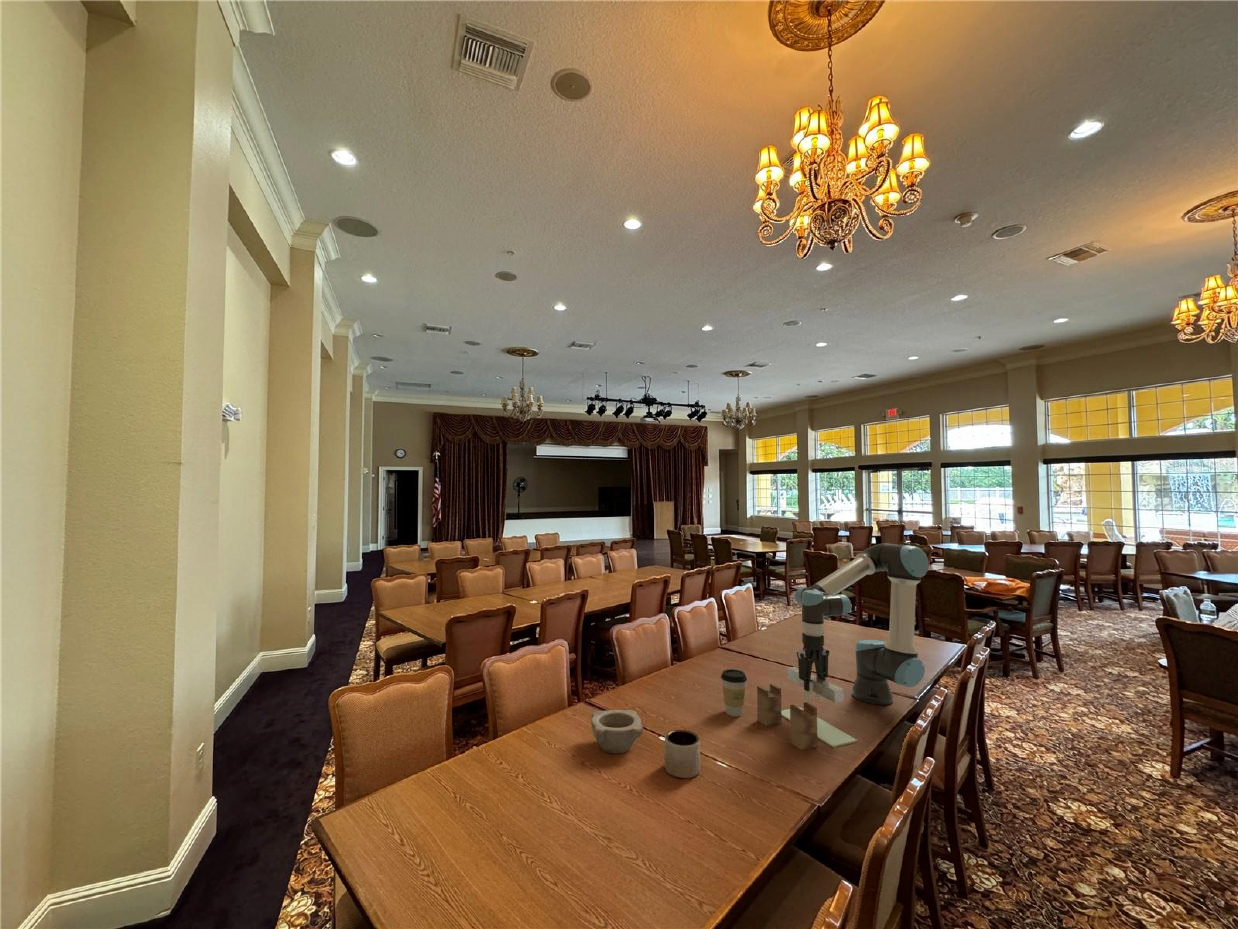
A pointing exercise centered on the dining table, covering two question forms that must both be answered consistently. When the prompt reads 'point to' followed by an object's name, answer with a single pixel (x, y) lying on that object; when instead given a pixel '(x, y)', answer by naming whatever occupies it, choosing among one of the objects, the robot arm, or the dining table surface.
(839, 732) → the mat
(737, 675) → the coffee cup
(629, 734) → the mortar
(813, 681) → the rail
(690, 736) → the planter
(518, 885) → the dining table surface
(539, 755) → the dining table surface
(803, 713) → the post
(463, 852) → the dining table surface
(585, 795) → the dining table surface
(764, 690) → the post
